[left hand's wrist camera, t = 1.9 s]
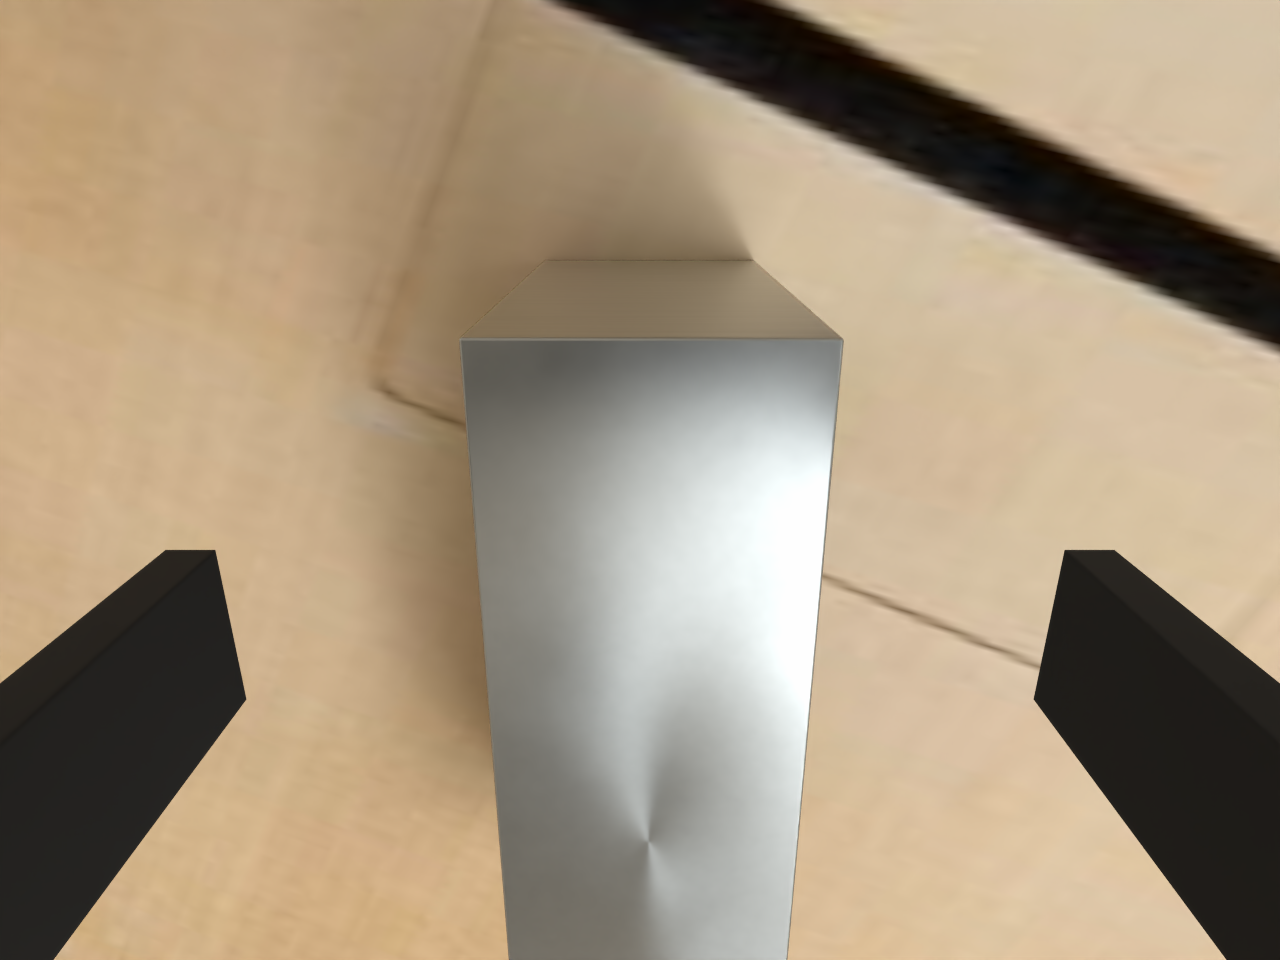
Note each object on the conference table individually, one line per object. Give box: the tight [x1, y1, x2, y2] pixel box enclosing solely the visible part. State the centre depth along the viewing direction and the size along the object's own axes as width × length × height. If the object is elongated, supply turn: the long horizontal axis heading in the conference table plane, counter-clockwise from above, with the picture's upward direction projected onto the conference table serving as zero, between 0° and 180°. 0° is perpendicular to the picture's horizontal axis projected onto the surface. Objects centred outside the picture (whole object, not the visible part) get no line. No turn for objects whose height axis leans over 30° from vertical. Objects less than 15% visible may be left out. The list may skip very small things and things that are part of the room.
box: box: [459, 260, 844, 960], centre depth 24 cm, size 22×7×12 cm, turn 0°
